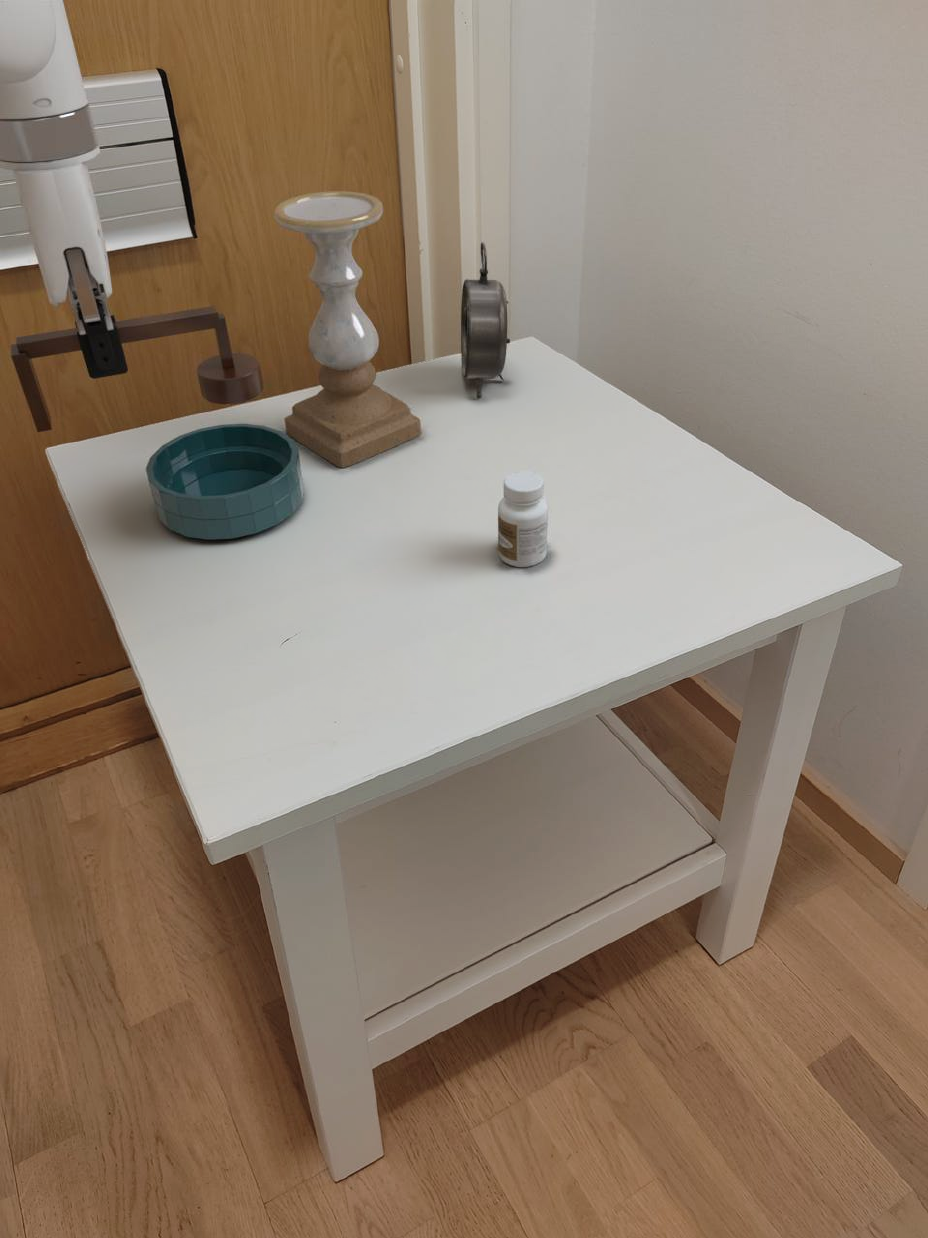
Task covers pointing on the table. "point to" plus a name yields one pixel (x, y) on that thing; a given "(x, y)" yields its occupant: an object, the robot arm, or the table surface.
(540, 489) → the pill bottle
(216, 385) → the ladle
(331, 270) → the candle holder
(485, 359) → the alarm clock
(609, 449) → the table surface
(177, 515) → the bowl
